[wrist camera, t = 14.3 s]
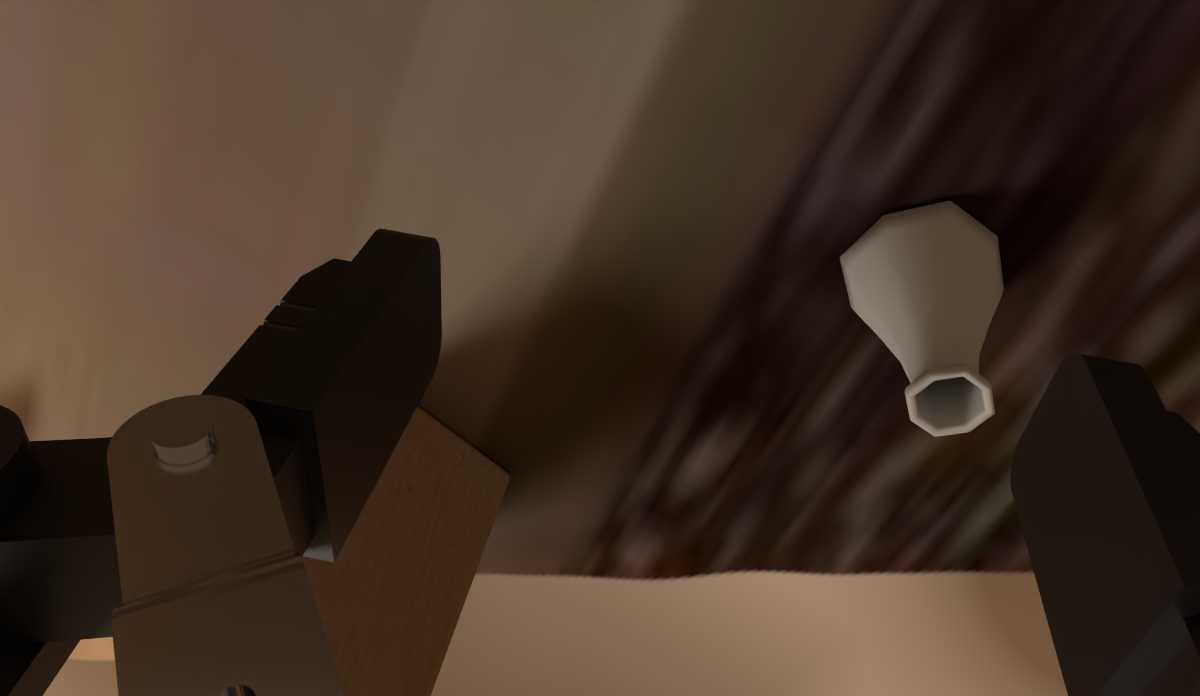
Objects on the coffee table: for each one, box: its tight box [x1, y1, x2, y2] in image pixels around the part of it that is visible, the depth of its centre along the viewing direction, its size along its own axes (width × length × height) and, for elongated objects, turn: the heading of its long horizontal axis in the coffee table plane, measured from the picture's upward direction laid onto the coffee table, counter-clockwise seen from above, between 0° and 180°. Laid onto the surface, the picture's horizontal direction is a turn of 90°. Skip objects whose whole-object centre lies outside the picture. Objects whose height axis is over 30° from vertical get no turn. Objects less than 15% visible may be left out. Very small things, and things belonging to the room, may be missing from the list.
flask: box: [840, 200, 1004, 437], centre depth 37 cm, size 7×7×10 cm
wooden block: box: [302, 406, 510, 696], centre depth 48 cm, size 10×10×20 cm
